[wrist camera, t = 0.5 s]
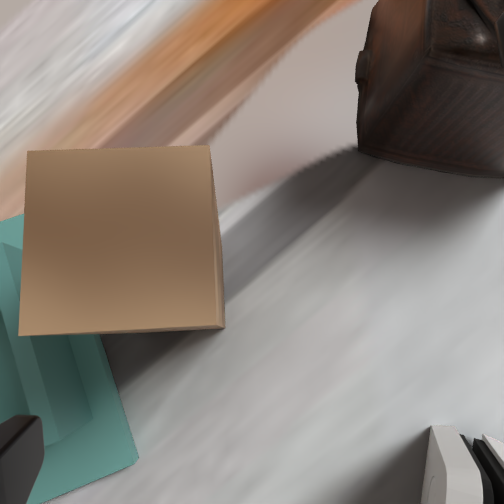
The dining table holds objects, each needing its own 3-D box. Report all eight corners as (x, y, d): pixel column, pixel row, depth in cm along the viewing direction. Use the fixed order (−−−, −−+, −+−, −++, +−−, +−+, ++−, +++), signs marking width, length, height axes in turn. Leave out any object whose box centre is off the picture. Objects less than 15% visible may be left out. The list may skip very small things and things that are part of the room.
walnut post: (225, 328, 22) (216, 324, 10) (141, 332, 22) (18, 335, 9) (221, 247, 23) (209, 145, 10) (141, 250, 23) (27, 151, 10)
